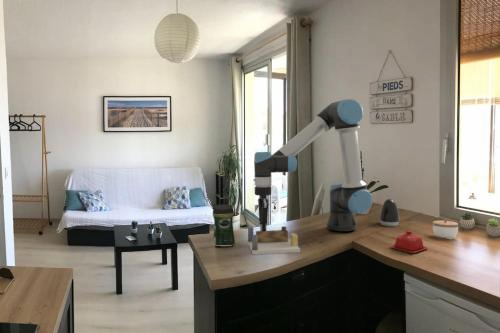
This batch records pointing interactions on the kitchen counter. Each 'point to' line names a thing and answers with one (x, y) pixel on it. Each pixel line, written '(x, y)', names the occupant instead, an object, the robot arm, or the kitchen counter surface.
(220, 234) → the coffee jar
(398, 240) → the butter dish
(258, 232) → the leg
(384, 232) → the kitchen counter surface
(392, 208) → the dark grey dome
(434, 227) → the lidded jar
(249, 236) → the white board with blocks
